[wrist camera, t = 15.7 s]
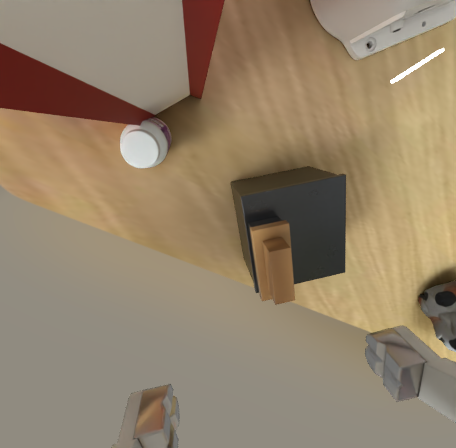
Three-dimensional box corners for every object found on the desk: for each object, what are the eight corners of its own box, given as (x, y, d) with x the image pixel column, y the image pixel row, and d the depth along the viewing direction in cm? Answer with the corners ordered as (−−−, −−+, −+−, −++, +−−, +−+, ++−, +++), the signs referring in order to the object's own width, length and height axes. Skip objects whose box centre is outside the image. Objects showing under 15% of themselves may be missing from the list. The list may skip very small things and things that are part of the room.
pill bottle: (166, 113, 33) (159, 120, 25) (175, 152, 36) (170, 170, 27) (126, 118, 33) (105, 127, 24) (138, 157, 35) (122, 178, 27)
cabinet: (312, 163, 39) (350, 173, 30) (316, 242, 45) (348, 271, 35) (229, 181, 38) (240, 196, 29) (242, 259, 44) (256, 293, 34)
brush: (280, 214, 31) (299, 232, 25) (286, 280, 34) (304, 308, 29) (246, 221, 30) (258, 241, 25) (256, 286, 34) (268, 317, 28)
